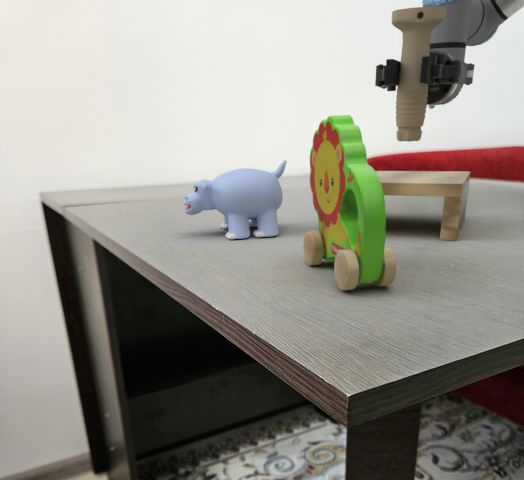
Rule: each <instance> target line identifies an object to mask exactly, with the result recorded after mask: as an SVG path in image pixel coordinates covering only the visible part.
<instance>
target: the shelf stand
mask: <svg viewBox="0 0 524 480" xmlns="http://www.w3.org/2000/svg"><path fill="white" fill-rule="evenodd" d="M375 172H376V173H377V175H378V177H379V179H380V182H381V185H382V189H383V194H384V196H399V197H400V196H402V197H404V196H406V197H442V198H444V199H443V206H442V215H441V223H440V233H439V240H440V241H457V240H458V238H459V235H460V232H461V230H462V227H463V225H464V223H465V220H466V211H467V205H468V197H469V196H468V195H469V188H470V182H471V181H470V180H471V171H466V170H465V171H462V170H461V171H460V170H459V171H456V170H455V171H454V170H453V171H451V170H450V171H448V170H447V171H445V170H443V171H441V170H434V171H433V170H375Z"/></svg>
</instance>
